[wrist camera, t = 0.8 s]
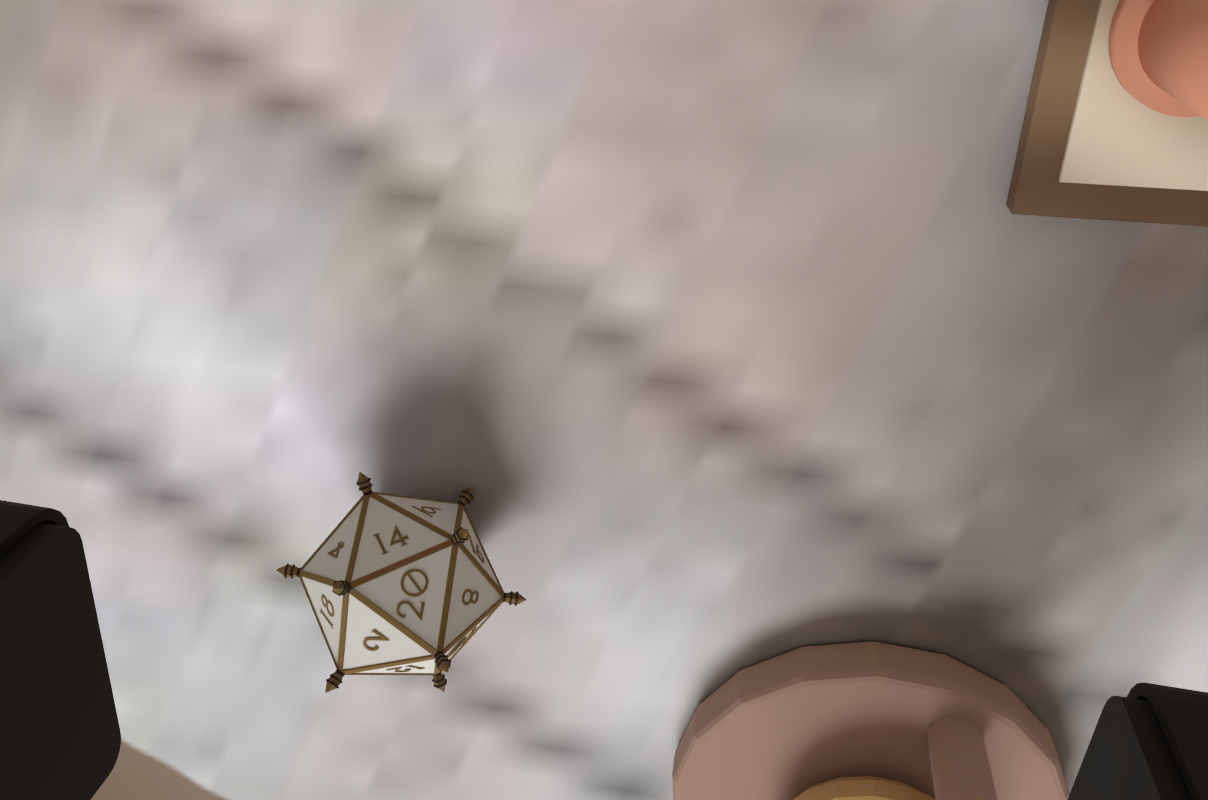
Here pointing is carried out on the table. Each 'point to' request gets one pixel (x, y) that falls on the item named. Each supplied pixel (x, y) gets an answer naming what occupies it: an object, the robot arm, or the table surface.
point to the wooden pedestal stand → (865, 732)
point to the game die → (400, 586)
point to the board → (1102, 135)
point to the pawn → (1162, 54)
